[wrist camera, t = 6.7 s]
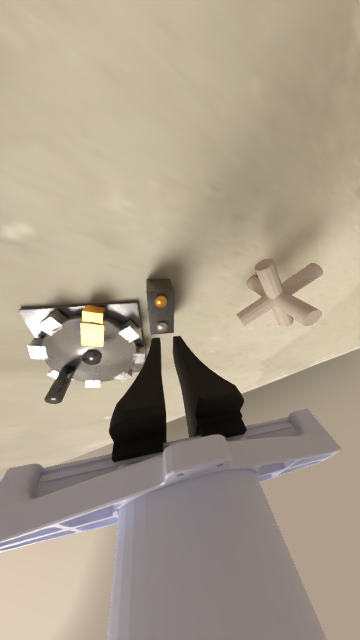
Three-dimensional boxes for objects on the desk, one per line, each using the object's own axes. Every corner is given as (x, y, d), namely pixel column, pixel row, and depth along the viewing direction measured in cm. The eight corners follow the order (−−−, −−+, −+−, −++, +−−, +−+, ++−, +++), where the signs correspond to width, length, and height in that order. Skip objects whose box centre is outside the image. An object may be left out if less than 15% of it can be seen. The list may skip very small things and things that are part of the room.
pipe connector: (237, 321, 27) (277, 367, 18) (208, 279, 21) (247, 317, 13) (291, 285, 24) (364, 319, 16) (274, 227, 19) (370, 234, 11)
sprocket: (8, 341, 20) (-38, 382, 15) (96, 284, 18) (77, 309, 13) (95, 389, 28) (84, 426, 23) (162, 353, 26) (166, 384, 21)
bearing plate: (20, 308, 19) (17, 310, 18) (137, 301, 21) (137, 303, 21) (65, 379, 27) (63, 381, 26) (147, 368, 29) (147, 370, 28)
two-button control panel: (146, 279, 20) (146, 292, 16) (169, 278, 20) (174, 291, 17) (150, 318, 23) (150, 336, 20) (169, 316, 24) (173, 334, 20)
